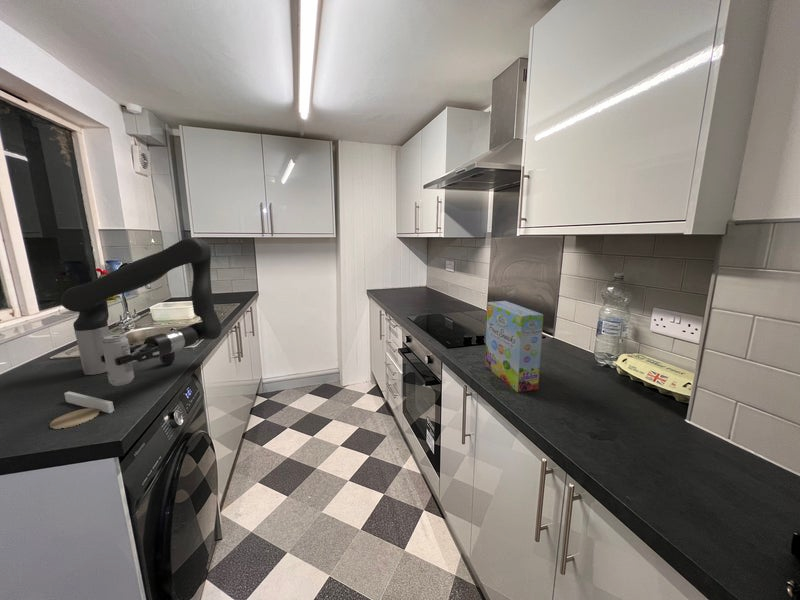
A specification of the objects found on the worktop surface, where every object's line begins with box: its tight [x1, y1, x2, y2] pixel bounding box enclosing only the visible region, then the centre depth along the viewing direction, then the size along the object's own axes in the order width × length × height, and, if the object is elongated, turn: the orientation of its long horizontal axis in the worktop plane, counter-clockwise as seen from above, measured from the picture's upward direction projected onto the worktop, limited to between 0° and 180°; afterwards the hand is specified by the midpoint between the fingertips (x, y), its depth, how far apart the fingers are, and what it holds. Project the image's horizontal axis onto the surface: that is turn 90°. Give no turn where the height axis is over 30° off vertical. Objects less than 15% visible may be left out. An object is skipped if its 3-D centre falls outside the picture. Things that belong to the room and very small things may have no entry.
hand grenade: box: [159, 351, 176, 366], centre depth 127 cm, size 6×5×10 cm
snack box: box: [484, 300, 544, 393], centre depth 110 cm, size 22×9×26 cm, turn 14°
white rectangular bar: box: [64, 390, 115, 414], centre depth 97 cm, size 21×1×3 cm, turn 71°
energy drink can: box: [102, 333, 135, 387], centre depth 98 cm, size 6×6×15 cm
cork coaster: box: [49, 407, 101, 430], centre depth 91 cm, size 10×10×1 cm
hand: (109, 360), depth 96 cm, fingers closed on energy drink can, 6 cm apart
